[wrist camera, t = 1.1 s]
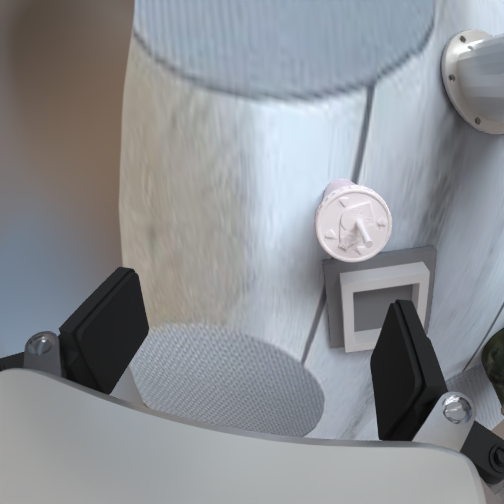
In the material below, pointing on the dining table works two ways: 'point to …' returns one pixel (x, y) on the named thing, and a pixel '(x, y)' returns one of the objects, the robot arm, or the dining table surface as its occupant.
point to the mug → (495, 364)
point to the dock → (376, 293)
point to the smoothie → (352, 221)
